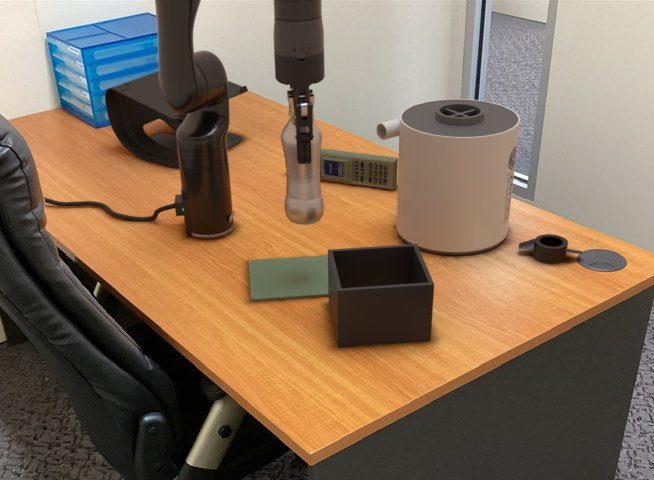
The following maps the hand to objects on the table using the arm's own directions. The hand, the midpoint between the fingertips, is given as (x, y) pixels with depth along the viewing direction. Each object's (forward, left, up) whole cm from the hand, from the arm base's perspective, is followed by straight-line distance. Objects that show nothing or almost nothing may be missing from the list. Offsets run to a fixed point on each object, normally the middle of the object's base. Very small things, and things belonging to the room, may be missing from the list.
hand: (302, 154), depth 136 cm
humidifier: (+27, +15, -23) cm, 38 cm away
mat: (0, 0, -22) cm, 22 cm away
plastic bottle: (0, 0, -12) cm, 12 cm away
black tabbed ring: (+44, +2, -23) cm, 50 cm away
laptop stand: (-24, +70, -23) cm, 77 cm away
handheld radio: (+11, +42, -23) cm, 49 cm away
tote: (+10, -16, -22) cm, 29 cm away
